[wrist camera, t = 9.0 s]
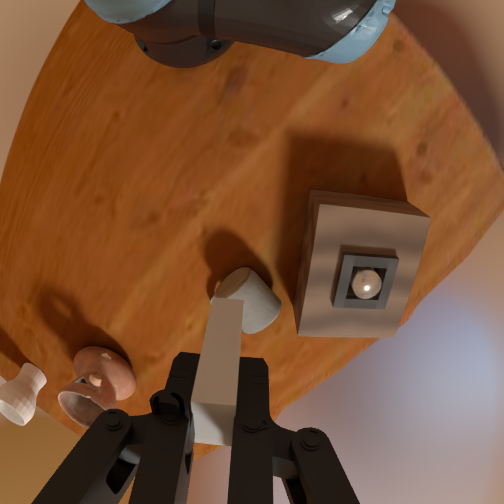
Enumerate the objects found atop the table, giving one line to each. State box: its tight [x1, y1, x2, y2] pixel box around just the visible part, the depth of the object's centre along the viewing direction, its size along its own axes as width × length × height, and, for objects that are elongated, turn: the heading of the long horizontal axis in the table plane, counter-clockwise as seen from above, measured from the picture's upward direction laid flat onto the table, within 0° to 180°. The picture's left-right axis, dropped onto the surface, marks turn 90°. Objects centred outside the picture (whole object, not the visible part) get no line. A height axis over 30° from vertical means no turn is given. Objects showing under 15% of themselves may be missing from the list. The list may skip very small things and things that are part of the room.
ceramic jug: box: [58, 346, 136, 428], centre depth 55 cm, size 18×14×14 cm
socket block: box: [293, 189, 431, 337], centre depth 46 cm, size 20×16×9 cm
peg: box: [350, 266, 382, 299], centre depth 45 cm, size 4×4×8 cm
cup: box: [0, 363, 46, 426], centre depth 59 cm, size 11×11×15 cm
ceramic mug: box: [210, 267, 281, 334], centre depth 50 cm, size 11×8×8 cm
